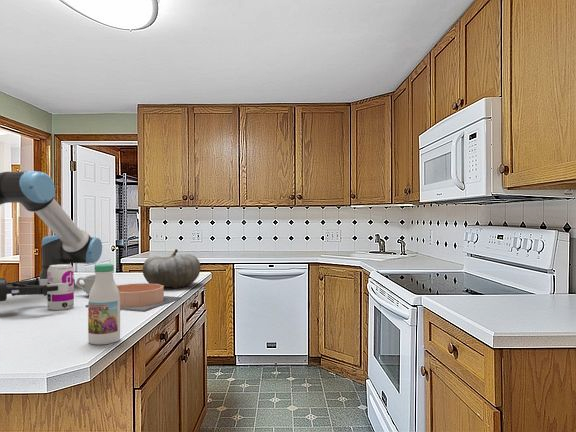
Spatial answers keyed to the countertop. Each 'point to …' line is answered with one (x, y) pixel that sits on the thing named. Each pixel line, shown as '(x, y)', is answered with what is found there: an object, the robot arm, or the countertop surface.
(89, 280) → the teacup
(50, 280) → the supplement can
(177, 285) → the gourd
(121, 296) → the peach faceted bowl
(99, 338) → the milk bottle
